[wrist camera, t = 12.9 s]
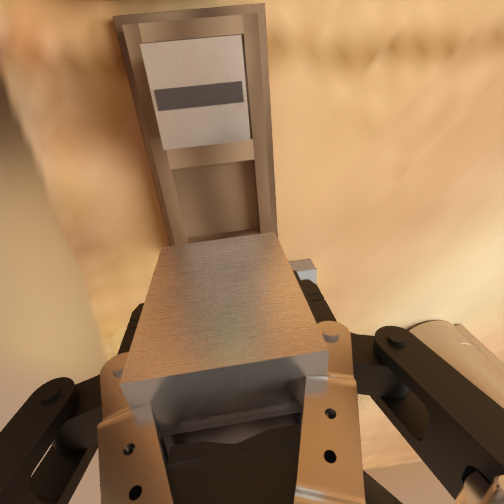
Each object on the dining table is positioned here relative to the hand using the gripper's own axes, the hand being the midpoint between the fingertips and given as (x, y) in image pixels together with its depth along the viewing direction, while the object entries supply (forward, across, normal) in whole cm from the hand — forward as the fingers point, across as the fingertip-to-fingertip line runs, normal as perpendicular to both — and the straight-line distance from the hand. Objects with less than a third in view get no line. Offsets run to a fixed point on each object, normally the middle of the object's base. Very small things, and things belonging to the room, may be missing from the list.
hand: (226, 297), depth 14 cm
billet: (+1, 0, 0) cm, 1 cm away
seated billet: (+14, 0, -8) cm, 16 cm away
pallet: (+15, 0, -4) cm, 16 cm away
